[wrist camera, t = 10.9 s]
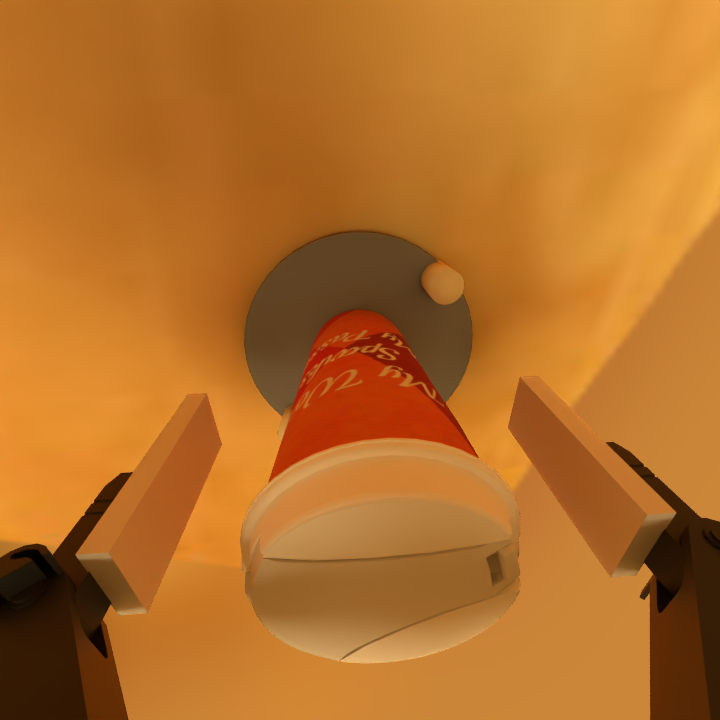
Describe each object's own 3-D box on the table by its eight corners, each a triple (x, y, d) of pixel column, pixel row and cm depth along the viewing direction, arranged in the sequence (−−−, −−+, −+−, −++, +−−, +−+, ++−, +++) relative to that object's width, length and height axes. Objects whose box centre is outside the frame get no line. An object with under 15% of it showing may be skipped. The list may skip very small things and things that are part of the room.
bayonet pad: (226, 235, 18) (207, 243, 15) (482, 226, 18) (504, 232, 16) (266, 439, 24) (258, 467, 22) (456, 428, 25) (468, 455, 22)
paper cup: (403, 272, 19) (535, 439, 6) (431, 384, 22) (553, 638, 9) (272, 315, 19) (150, 543, 7) (319, 417, 23) (296, 694, 10)
